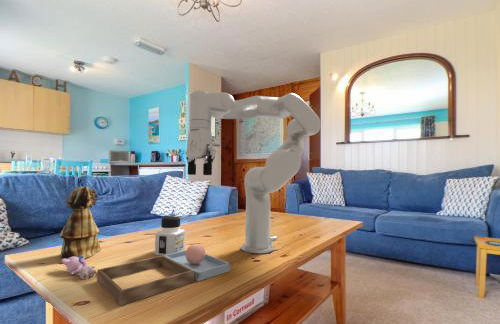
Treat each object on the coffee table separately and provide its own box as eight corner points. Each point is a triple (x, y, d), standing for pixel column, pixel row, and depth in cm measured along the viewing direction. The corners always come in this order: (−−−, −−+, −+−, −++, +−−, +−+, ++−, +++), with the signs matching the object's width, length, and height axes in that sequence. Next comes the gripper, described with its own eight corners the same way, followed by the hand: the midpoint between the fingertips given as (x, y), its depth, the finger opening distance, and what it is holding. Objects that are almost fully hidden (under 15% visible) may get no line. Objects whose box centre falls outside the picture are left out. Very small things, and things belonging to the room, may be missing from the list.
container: (174, 256, 90) (175, 218, 91) (154, 255, 92) (155, 217, 92) (184, 250, 98) (185, 215, 98) (165, 248, 99) (166, 214, 100)
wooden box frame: (162, 265, 82) (163, 255, 82) (193, 282, 69) (193, 270, 70) (96, 281, 69) (97, 269, 69) (120, 305, 57) (120, 291, 57)
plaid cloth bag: (35, 258, 83) (59, 181, 85) (63, 247, 96) (83, 181, 98) (80, 268, 83) (102, 191, 85) (101, 256, 97) (120, 190, 99)
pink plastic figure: (102, 280, 73) (76, 261, 81) (105, 259, 73) (78, 242, 80) (78, 289, 68) (52, 267, 75) (81, 266, 67) (55, 247, 75)
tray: (192, 255, 92) (193, 248, 92) (230, 270, 78) (230, 263, 78) (162, 262, 84) (163, 255, 84) (198, 281, 70) (198, 272, 70)
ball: (198, 259, 85) (198, 240, 86) (208, 264, 81) (209, 244, 81) (181, 263, 81) (182, 243, 81) (192, 268, 77) (192, 248, 77)
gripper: (178, 128, 96) (177, 174, 96) (205, 122, 84) (204, 175, 83) (196, 130, 102) (194, 174, 101) (224, 125, 89) (223, 175, 89)
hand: (199, 174), depth 92 cm, fingers open, 9 cm apart
